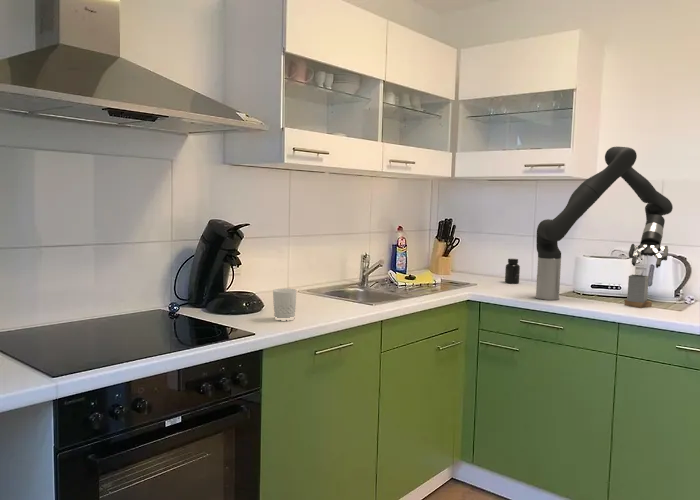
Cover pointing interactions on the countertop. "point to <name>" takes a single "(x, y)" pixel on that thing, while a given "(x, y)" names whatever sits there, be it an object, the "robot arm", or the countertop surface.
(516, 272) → the supplement bottle
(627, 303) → the post
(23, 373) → the countertop surface
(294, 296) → the white cup
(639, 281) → the sleeve
